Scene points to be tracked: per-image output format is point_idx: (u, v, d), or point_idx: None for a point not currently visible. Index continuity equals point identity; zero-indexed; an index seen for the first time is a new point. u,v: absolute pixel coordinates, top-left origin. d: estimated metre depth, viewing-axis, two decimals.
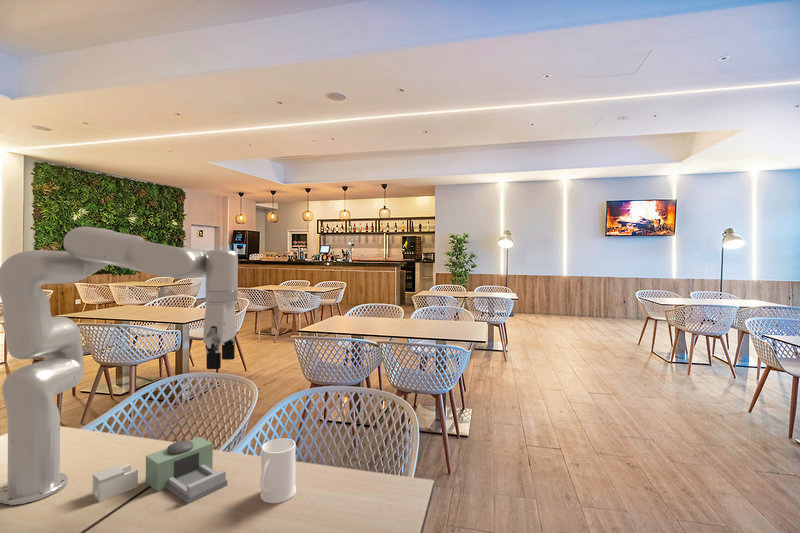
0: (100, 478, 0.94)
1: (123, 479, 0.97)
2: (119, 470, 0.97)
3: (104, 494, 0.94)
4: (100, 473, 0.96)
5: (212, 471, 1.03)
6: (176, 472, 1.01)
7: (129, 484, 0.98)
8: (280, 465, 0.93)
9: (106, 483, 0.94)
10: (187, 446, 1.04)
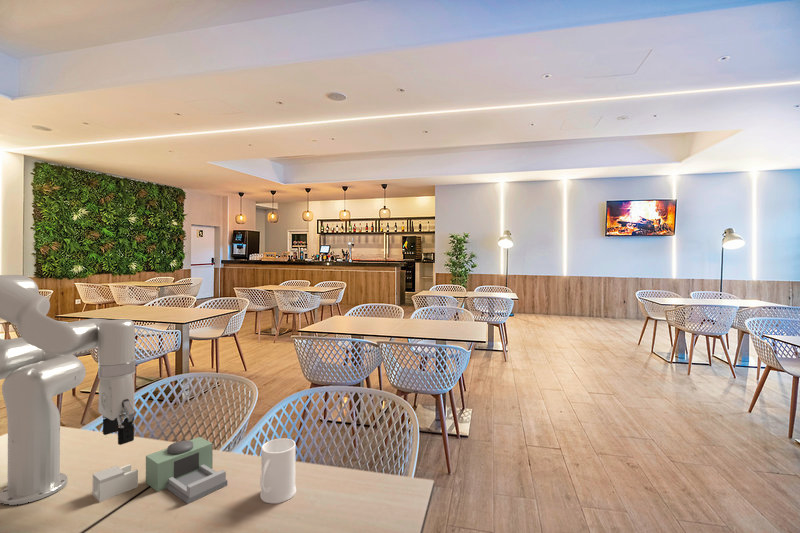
0: (100, 478, 0.94)
1: (123, 479, 0.97)
2: (119, 470, 0.97)
3: (104, 494, 0.94)
4: (100, 473, 0.96)
5: (212, 471, 1.03)
6: (176, 472, 1.01)
7: (129, 484, 0.98)
8: (280, 465, 0.93)
9: (106, 483, 0.94)
10: (187, 446, 1.04)
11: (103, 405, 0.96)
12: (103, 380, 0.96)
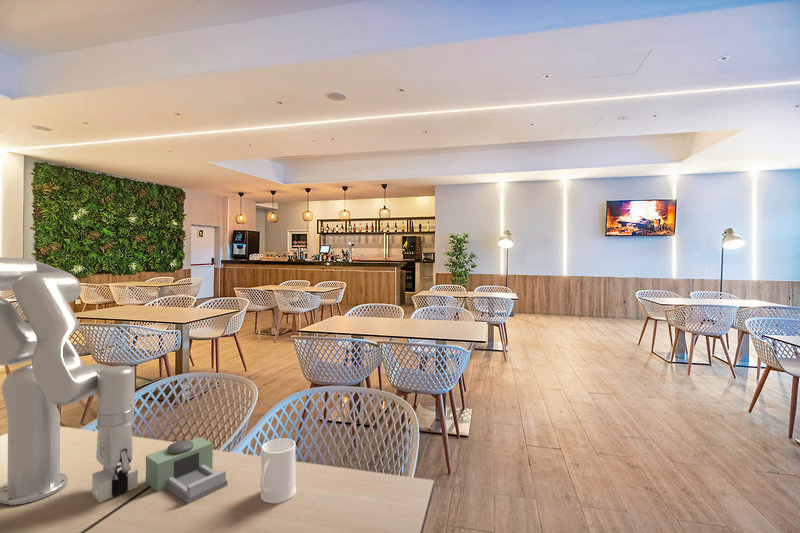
0: (100, 478, 0.94)
1: None
2: None
3: (104, 494, 0.93)
4: (100, 473, 0.96)
5: (212, 471, 1.03)
6: (176, 472, 1.01)
7: (129, 484, 0.98)
8: (280, 465, 0.93)
9: (106, 483, 0.94)
10: (187, 446, 1.04)
11: (101, 453, 0.96)
12: (102, 428, 0.96)
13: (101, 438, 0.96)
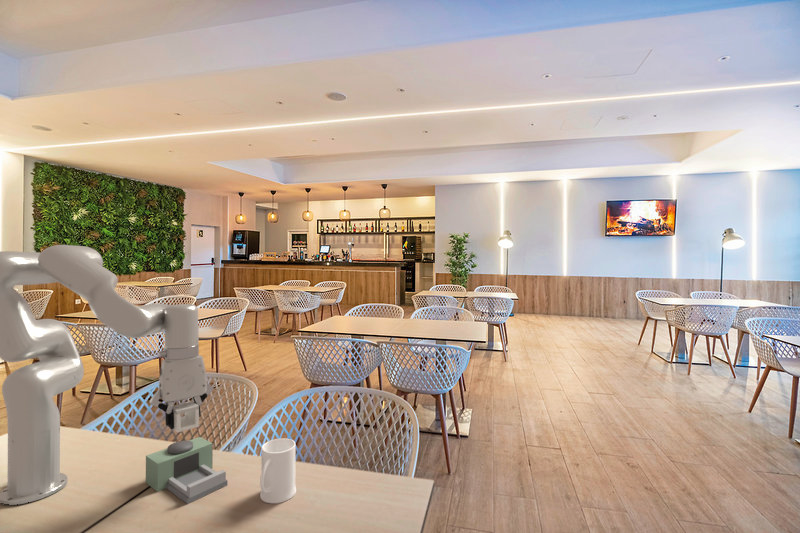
0: (193, 406, 0.98)
1: None
2: (185, 403, 1.00)
3: None
4: (181, 408, 0.97)
5: (212, 471, 1.03)
6: (176, 472, 1.01)
7: None
8: (280, 465, 0.93)
9: None
10: (187, 446, 1.04)
11: (183, 388, 0.97)
12: (183, 363, 0.97)
13: (183, 373, 0.97)
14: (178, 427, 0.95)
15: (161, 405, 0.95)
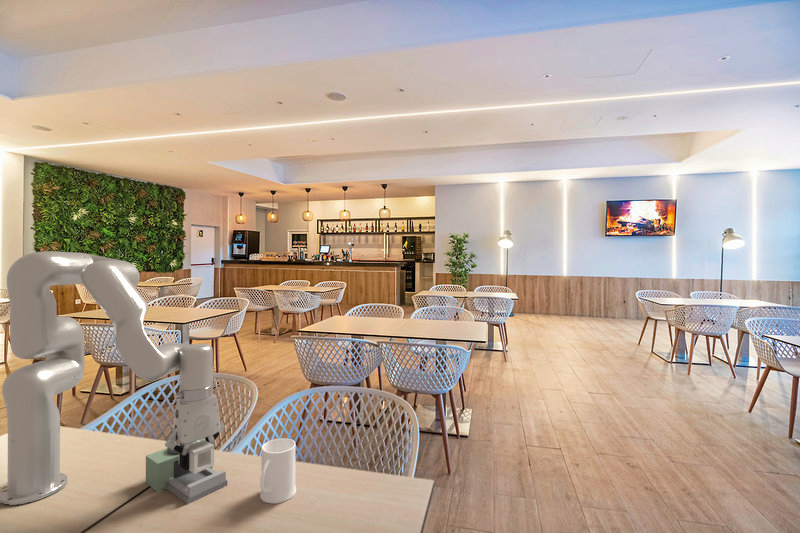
0: (209, 446, 0.99)
1: None
2: (198, 442, 1.01)
3: None
4: (197, 449, 0.97)
5: (212, 471, 1.03)
6: (176, 472, 1.01)
7: None
8: (280, 465, 0.93)
9: None
10: None
11: (199, 428, 0.98)
12: (199, 404, 0.98)
13: (199, 413, 0.98)
14: (195, 468, 0.96)
15: (177, 447, 0.95)
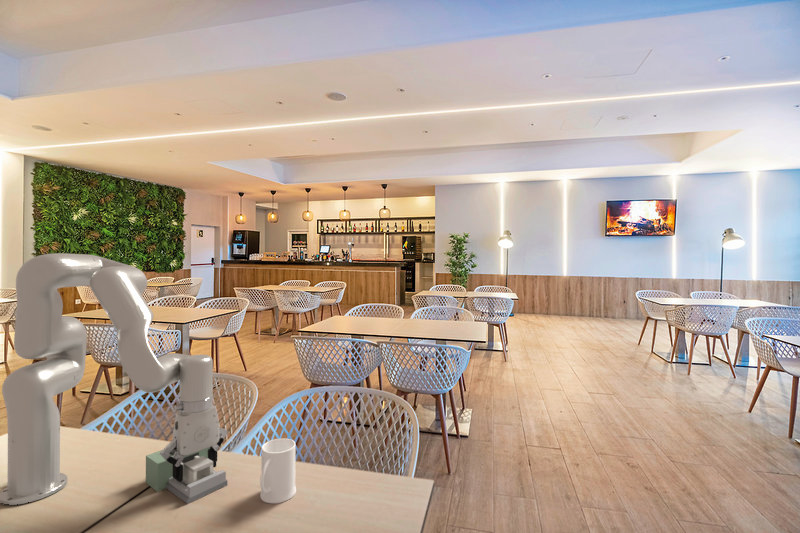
0: (208, 462, 0.99)
1: None
2: (197, 458, 1.01)
3: None
4: (196, 466, 0.97)
5: None
6: None
7: None
8: (280, 465, 0.93)
9: None
10: None
11: (199, 440, 0.98)
12: (199, 416, 0.98)
13: (199, 425, 0.98)
14: None
15: (170, 459, 0.94)
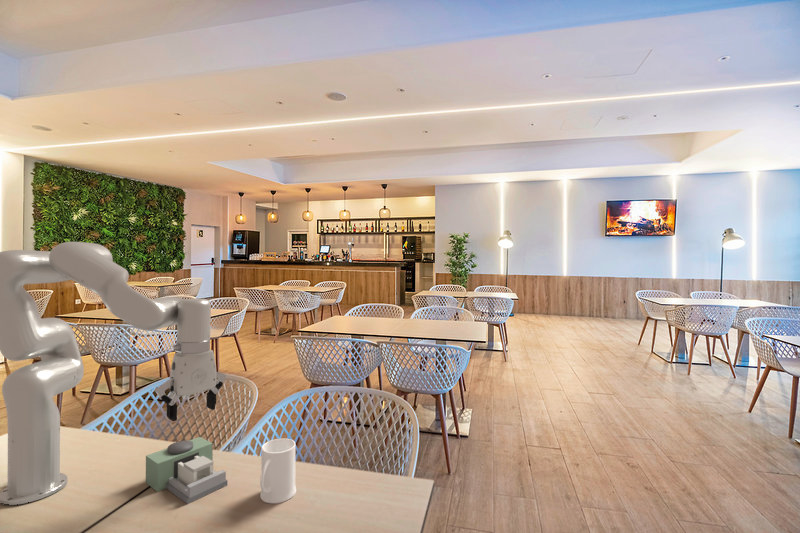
0: (208, 462, 0.99)
1: None
2: (197, 458, 1.01)
3: None
4: (196, 466, 0.97)
5: None
6: (176, 472, 1.01)
7: None
8: (280, 465, 0.93)
9: None
10: (187, 446, 1.04)
11: (196, 382, 0.98)
12: (196, 357, 0.98)
13: (196, 367, 0.98)
14: None
15: (164, 397, 0.93)
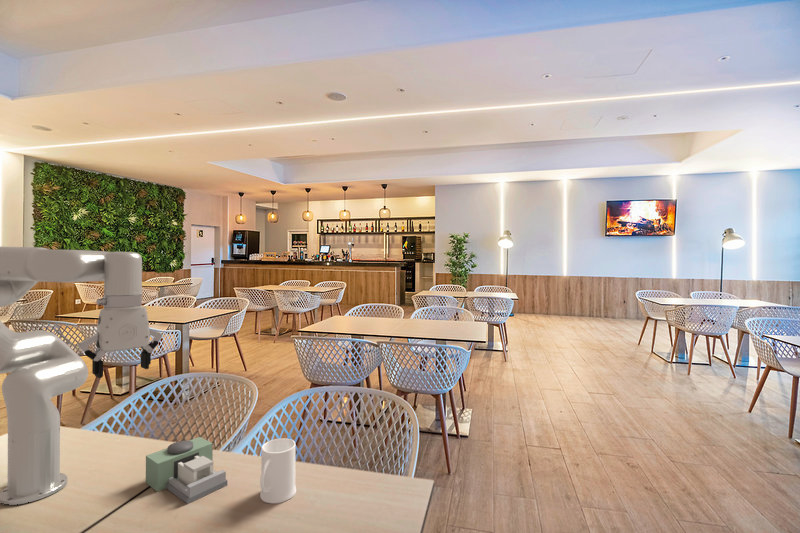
0: (208, 462, 0.99)
1: None
2: (197, 458, 1.01)
3: None
4: (196, 466, 0.97)
5: None
6: (176, 472, 1.01)
7: None
8: (280, 465, 0.93)
9: None
10: (187, 446, 1.04)
11: (124, 338, 0.93)
12: (124, 312, 0.93)
13: (124, 322, 0.93)
14: None
15: (88, 352, 0.89)
